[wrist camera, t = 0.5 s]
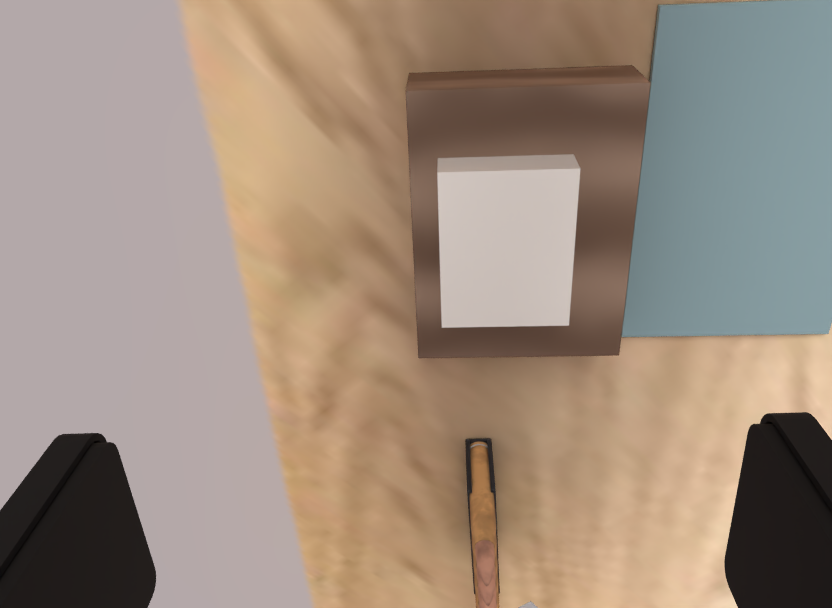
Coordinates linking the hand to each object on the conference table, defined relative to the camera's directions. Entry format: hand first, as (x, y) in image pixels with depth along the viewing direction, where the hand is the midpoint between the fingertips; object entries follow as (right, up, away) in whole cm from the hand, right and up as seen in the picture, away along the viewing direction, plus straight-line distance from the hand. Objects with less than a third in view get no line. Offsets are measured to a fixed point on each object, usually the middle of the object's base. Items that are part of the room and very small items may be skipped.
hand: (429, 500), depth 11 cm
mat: (+19, +10, +31) cm, 38 cm away
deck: (+6, +9, +32) cm, 34 cm away
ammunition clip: (+5, -11, +44) cm, 46 cm away
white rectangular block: (+5, +6, +28) cm, 29 cm away
